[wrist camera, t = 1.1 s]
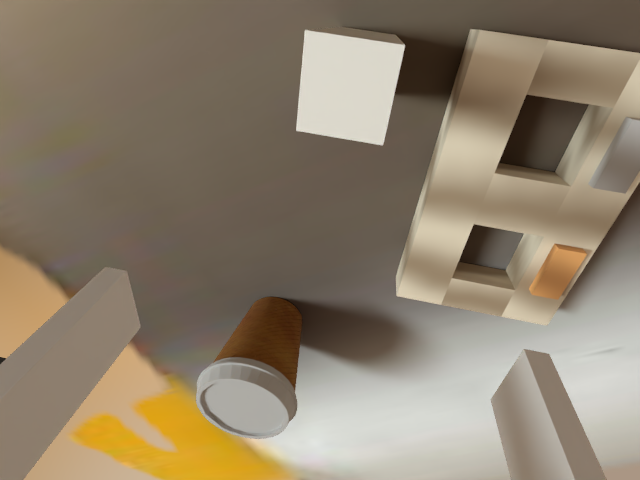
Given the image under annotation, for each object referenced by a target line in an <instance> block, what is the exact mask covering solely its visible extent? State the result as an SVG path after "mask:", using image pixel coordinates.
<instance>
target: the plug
mask: <svg viewBox="0 0 640 480" xmlns="http://www.w3.org/2000/svg"><path fill="white" fill-rule="evenodd" d="M404 49H405V44H404V43H403V42H402V41H401V40H400V39H399V38H398V37H397V36H396V35H394V34H387V33H380V32H374V31H367V30H360V29H354V28H347V27H331V28H321V29H310V30H305V36H304V48H303V59H302V70H301V81H300V93H299V104H298V115H297V127H296V131H301V132H307V133H313V134H319V135H325V136H331V137H337V138H342V139H348V140H354V141H360V142H366V143H372V144H378V145H383V143H384V139H385V134H386V130H387V125H388V121H389V116H390V112H391V107H392V103H393V98H394V94H395V89H396V85H397V80H398V76H399V71H400V67H401V62H402V58H403V53H404Z"/></svg>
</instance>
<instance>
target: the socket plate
mask: <svg viewBox="0 0 640 480" xmlns="http://www.w3.org/2000/svg"><path fill="white" fill-rule="evenodd" d="M526 95H533V96H540V97H546V98H552V99H559V100H565V101H571V102H578V103H584V104H589V105H588V107H587V109H586V111H585V113H584V115H583V117H582V119H581V121H580V123H579V125H578V127H577V129H576V131H575V133H574V135H573V137H572V139H571V141H570V143H569V145H568V147H567V149H566V151H565V153H564V155H563V157H562V159H561V161H560V163H559V165H558V167H557V169H556V171H555V172H551V171H545V170H539V169H533V168H527V167H521V166H515V165H509V164H503V163H499V161H500V158H501V156H502V154H503V151H504V149H505V146H506V144H507V141H508V139H509V136H510V134H511V131H512V129H513V126H514V124H515V122H516V119H517V117H518V114H519V112H520V109H521V107H522V104H523V102H524V99H525V97H526ZM639 182H640V53H635V52H628V51H621V50H614V49H608V48H601V47H594V46H587V45H580V44H574V43H567V42H560V41H553V40H546V39H539V38H533V37H526V36H519V35H512V34H505V33H499V32H492V31H485V30H476V29H470V32H469V35H468V39H467V42H466V45H465V49H464V52H463V55H462V59H461V62H460V65H459V69H458V72H457V75H456V79H455V82H454V85H453V89H452V92H451V95H450V99H449V102H448V105H447V109H446V112H445V115H444V119H443V122H442V125H441V129H440V132H439V135H438V139H437V142H436V145H435V149H434V152H433V155H432V158H431V162H430V165H429V168H428V172H427V175H426V178H425V182H424V185H423V188H422V192H421V195H420V198H419V202H418V205H417V208H416V212H415V215H414V218H413V222H412V225H411V228H410V232H409V235H408V238H407V242H406V245H405V248H404V252H403V255H402V258H401V262H400V265H399V268H398V272H397V275H396V292H397V296H399V297H404V298H409V299H415V300H420V301H425V302H430V303H435V304H440V305H445V306H450V307H455V308H460V309H465V310H471V311H476V312H481V313H486V314H491V315H496V316H501V317H506V318H511V319H516V320H521V321H526V322H532V323H537V324H542V325H548V324H549V322H550V320H551V319H552V317H553V316H554V314H555V313H556V311H557V310H558V308H559V306H560V305H561V303H562V302H563V300H564V299H565V297H566V296H567V294H568V293H569V291H570V289H571V288H572V286H573V285H574V283H575V282H576V280H577V279H578V277H579V275H580V274H581V272H582V271H583V269H584V268H585V266H586V265H587V263H588V261H589V260H590V258H591V257H592V255H593V254H594V252H595V251H596V249H597V247H598V246H599V244H600V243H601V241H602V240H603V238H604V237H605V235H606V234H607V232H608V230H609V229H610V227H611V226H612V224H613V223H614V221H615V220H616V218H617V216H618V215H619V213H620V212H621V210H622V209H623V207H624V206H625V204H626V202H627V201H628V199H629V198H630V196H631V195H632V193H633V192H634V190H635V189H636V187H637V185H638V184H639ZM474 224H476V225H481V226H487V227H492V228H498V229H503V230H509V231H514V232H520V233H524V235H523V237H522V239H521V241H520V243H519V245H518V247H517V249H516V251H515V253H514V255H513V257H512V259H511V261H510V263H509V265H508V267H507V269H506V270H500V269H495V268H490V267H484V266H479V265H474V264H469V263H463V262H459V259H460V257H461V254H462V252H463V249H464V247H465V244H466V242H467V240H468V237H469V235H470V232H471V230H472V227H473V225H474Z"/></svg>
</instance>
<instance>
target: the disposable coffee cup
mask: <svg viewBox="0 0 640 480" xmlns="http://www.w3.org/2000/svg"><path fill="white" fill-rule="evenodd" d="M301 329H302V316H301V314H300V312H299V310H298V309H297V308H296V307H295V306H294V305H293V304H291V303H290V302H288V301H286V300H284V299H281V298H277V297H265V298H262V299H259V300H257V301H256V302H255V303H254V304H253V305H252V307H251V308H250V310H249V311H248V313H247V314H246V315H245V317H244V318H243V320H242V321H241V323H240V324H239V326H238V327H237V328H236V330H235V331H234V333H233V334H232V336H231V337H230V339H229V340H228V342H227V343H226V345H225V346H224V347H223V349H222V350H221V352H220V353H219V355H218V356H217V358H216V359H215V361H214V362H213V363H212V364H211V365H209V367H207V368H206V369H205V370H204V371H203V372H202V373H201V374H200V376H199V378H198V381H197V394H196V403H197V406H198V408H199V410H200V411H201V413H202V414H203V416H204V417H205V418H206V419H207V420H208V421H210V422H211V423H212V424H214V425H215V426H216V427H218V428H220V429H222V430H224V431H226V432H228V433H231V434H234V435H237V436H240V437H246V438H254V439H261V438H269V437H273V436H276V435H278V434H279V433H281V432H282V431H283V430H284V429H285V428H286V427H287V425H288V423H289V421H291V420H292V419H293V417H294V416H295V414H296V411H297V399H296V395H295V386H296V385H295V384H296V378H297V374H296V373H297V367H298V364H297V363H298V358H299V348H300V338H301Z"/></svg>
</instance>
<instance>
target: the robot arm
mask: <svg viewBox="0 0 640 480" xmlns="http://www.w3.org/2000/svg"><path fill="white" fill-rule="evenodd" d="M140 327H141V326H140V322H139V318H138V314H137V310H136V306H135V302H134V298H133V294H132V290H131V286H130V282H129V278H128V274H127V271H124V270H119V269H114V268H109V267H105V268H104V269H103V270H102V271H101V272H100V273H98V274H97V275H96V276H95V277H94V278H93V279H92V280H91V281H90V282H89V283H88V284H87V285H85V286H84V287H83V288H82V289H81V290H80V291H79V292H78V293H77V294H76V295H75V296H74V297H72V298H71V299H70V300H69V301H68V302H67V303H66V304H65V305H64V306H63V307H62V308H61V309H60V310H58V311H57V312H56V313H55V314H54V315H53V316H52V317H51V318H50V319H49V320H48V321H47V322H45V323H44V324H43V325H42V326H41V327H40V328H39V329H38V330H37V331H36V332H35V333H34V334H33V335H32V336H30V337H29V338H28V339H27V340H26V341H25V342H24V343H23V344H22V345H21V346H20V347H18V348H17V349H16V350H15V351H14V352H13V353H12V354H11V355H10V356H9V357H8V358H7V359H6V358H2V357H0V480H23V479H24V478H25V477H26V475H27V474H28V473H29V471H30V470H31V469H32V467H33V466H34V465H35V464H36V462H37V461H38V460H39V459H40V457H41V456H42V454H43V453H44V452H45V451H46V449H47V448H48V447H49V445H50V444H51V443H52V442H53V440H54V439H55V438H56V436H57V435H58V434H59V432H60V431H61V430H62V429H63V427H64V426H65V425H66V423H67V422H68V421H69V420H70V418H71V417H72V416H73V414H74V413H75V412H76V410H77V409H78V408H79V407H80V405H81V404H82V403H83V401H84V400H85V399H86V397H87V396H88V395H89V394H90V392H91V391H92V389H93V388H94V387H95V386H96V384H97V383H98V382H99V381H100V379H101V378H102V377H103V375H104V374H105V373H106V371H107V370H108V369H109V368H110V366H111V365H112V364H113V362H114V361H115V360H116V358H117V357H118V356H119V354H120V353H121V352H122V351H123V349H124V348H125V347H126V346H127V344H128V343H129V342H130V340H131V339H132V338H133V336H134V335H135V334H136V333H137V331H138V330H139V329H140ZM491 403H492V407H493V411H494V415H495V419H496V422H497V426H498V430H499V434H500V438H501V442H502V446H503V450H504V453H505V457H506V461H507V465H508V469H509V473H510V477H511V480H607V479H606V477H605V475H604V473H603V471H602V468H601V466H600V464H599V462H598V460H597V458H596V455H595V453H594V451H593V449H592V447H591V444H590V442H589V440H588V438H587V436H586V434H585V431H584V429H583V427H582V425H581V423H580V420H579V418H578V416H577V414H576V412H575V410H574V407H573V405H572V403H571V401H570V399H569V396H568V394H567V392H566V390H565V388H564V386H563V383H562V381H561V379H560V377H559V375H558V372H557V370H556V368H555V366H554V364H553V362H552V359H551V357H550V355H549V354H546V353H541V352H536V351H531V350H526V349H524V350H523V351H522V353H521V354H520V356H519V357H518V359H517V360H516V362H515V363H514V365H513V366H512V368H511V369H510V371H509V373H508V374H507V376H506V377H505V379H504V380H503V382H502V383H501V385H500V386H499V388H498V389H497V391H496V392H495V394H494V395H493V397H492V398H491Z"/></svg>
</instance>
